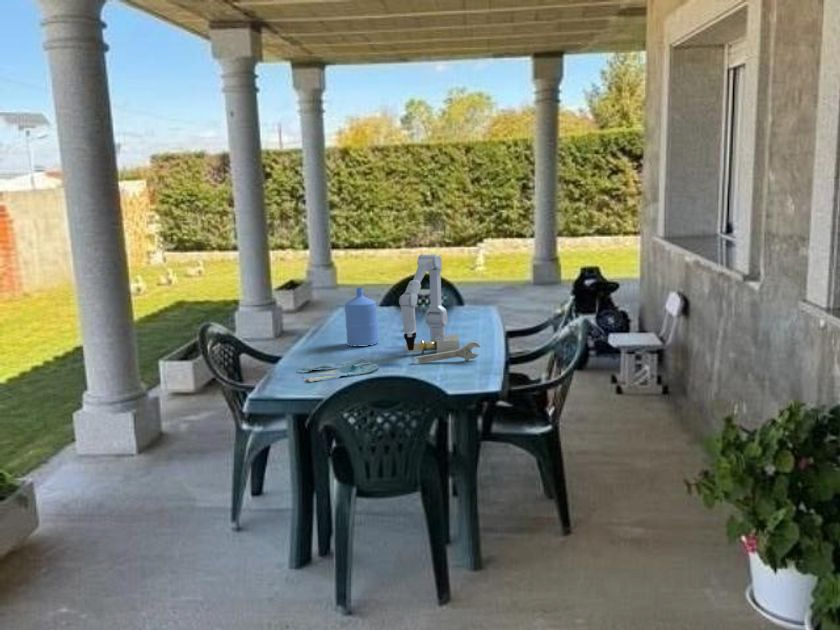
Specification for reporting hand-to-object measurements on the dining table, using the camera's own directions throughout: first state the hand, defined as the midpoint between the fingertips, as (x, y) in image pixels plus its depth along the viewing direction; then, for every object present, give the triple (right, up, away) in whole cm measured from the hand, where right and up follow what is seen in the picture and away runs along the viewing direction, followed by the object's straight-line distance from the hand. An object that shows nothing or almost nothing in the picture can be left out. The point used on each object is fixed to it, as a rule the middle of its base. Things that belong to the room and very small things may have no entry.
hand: (410, 349), depth 349 cm
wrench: (+16, -5, -17) cm, 24 cm away
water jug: (-24, +1, +30) cm, 39 cm away
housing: (+17, -1, 0) cm, 17 cm away
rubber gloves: (-31, -9, -22) cm, 39 cm away
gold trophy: (+5, -2, 0) cm, 5 cm away
